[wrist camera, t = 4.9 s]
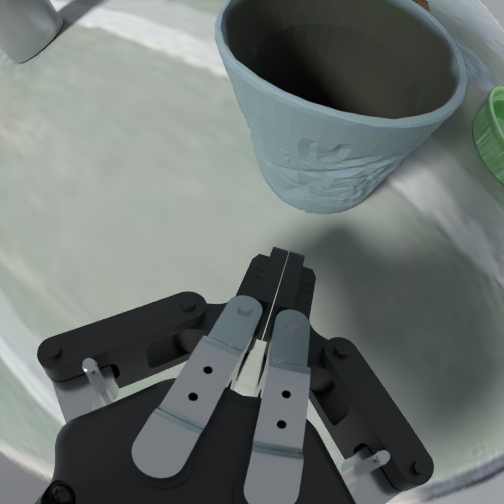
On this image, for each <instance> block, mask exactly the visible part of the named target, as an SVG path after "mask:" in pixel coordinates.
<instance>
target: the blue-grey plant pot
mask: <svg viewBox="0 0 504 504" xmlns="http://www.w3.org/2000/svg"><path fill="white" fill-rule="evenodd" d="M215 40H216V44H217V47H218V50H219V53H220V55H221V58H222V60H223V63H224V66H225V68H226V71H227V73H228V76H229V78H230V80H231V82H232V85H233V89H234V92H235V95H236V98H237V101H238V104H239V106H240V108H241V111H242V112H243V114H244V116H245V118H246V122H247V124H248V126H249V128H250V130H251V140H252V143H253V149H254V152H255V155H256V158H257V161H258V164H259V167H260V170H261V173H262V175H263V177H264V179H265V181H266V183H267V184H268V185H269V186H270V188H271V189H272V190H273V191H274V193H275V194H276V195H277V196H278V197H279V198H280V199H281V200H282V201H284V202H286V203H288V204H290V205H292V206H293V207H295V208H297V209H301V210H304V211H305V212H306V213H318V214H331V213H338V212H342V211H345V210H348V209H350V208H353V207H355V206H356V205H358V204H360V203H361V202H362V201H363V200H364V199H365V198H367V197H368V196H369V195H370V194H371V193H372V192H373V191H374V190H375V189H376V188H377V187H378V185H379V183H381V182H382V181H383V180H384V179H385V178H386V177H388V176H389V174H390V173H391V172H392V171H394V170H395V169H396V168H397V167H398V166H399V165H400V164H401V163H402V162H403V161H404V159H405V158H406V156H407V155H408V154H410V153H412V152H413V151H415V150H416V149H417V148H418V147H419V146H420V145H421V144H422V143H423V142H424V141H425V140H426V139H427V138H428V137H429V135H430V134H432V133H433V132H434V131H435V130H436V129H437V128H438V127H439V126H440V125H441V124H442V123H443V122H444V121H445V120H446V119H448V118H449V117H450V116H451V115H452V114H453V113H454V111H455V110H456V109H457V108H458V107H459V106H460V105H461V104H462V102H463V100H464V98H465V96H466V92H467V86H468V74H467V68H466V65H465V61H464V58H463V55H462V53H461V51H460V50H459V48H458V46H457V44H456V42H455V41H454V39H453V38H452V36H451V35H450V34H449V32H448V31H447V30H446V29H445V27H444V26H443V25H442V24H441V23H440V22H439V21H438V20H437V19H435V18H434V17H433V16H432V15H431V14H430V13H429V12H428V11H427V10H425V9H424V8H423V7H421V6H420V5H418V4H417V3H416V2H414V1H412V0H227V1H226V3H225V4H224V5H223V6H222V8H221V9H220V11H219V12H218V16H217V20H216V24H215Z"/></svg>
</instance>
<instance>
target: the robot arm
mask: <svg viewBox="0 0 504 504" xmlns="http://www.w3.org/2000/svg"><path fill="white" fill-rule="evenodd" d="M62 25H63V20H62V19H61V17H60V16H59V14H58V13H57V11H56V10H55V8H54V7H53V5H52V4H51V2H50V1H49V0H0V48H1V49H2V50H3V51H4V52H5V53H6V54H7V55H8V56H9V57H10V58H11V59H12V60H13V61H14V62H15V63H17V64H19V63H23V62H25V61H27V60H29V59H30V58H32V57H33V56H35V55H36V54H37V53H38V52H40V51H41V50H42V49H43V48H44V47H45V46H47V45H48V44H49V43H50V42H51V41H52V39H53V38H54V37H55V36H56V35H57V34H58V32H59V31H60V29H61V28H62ZM287 255H288V251H286V250H283V249H280V248H276V247H273V250H272V252H271V255H270V257H268V256H265V255H262V254H259V255H257V256H256V257H255V258H253V259H252V261H251V263H250V265H249V268H248V270H247V272H246V274H245V276H244V279H243V281H242V283H241V285H240V288H239V290H238V292H237V294H236V296H235V297H233V298H232V299H230V300H229V302H227V303H224V304H207V303H206V301H205V299H204V298H203V297H202V296H201V295H199V294H197V293H195V292H189V291H188V292H181V293H178V294H175V295H172V296H169V297H167V298H164V299H161V300H158V301H155V302H152V303H149V304H147V305H144V306H141V307H138V308H135V309H132V310H129V311H126V312H123V313H121V314H118V315H115V316H112V317H109V318H106V319H103V320H100V321H97V322H94V323H91V324H88V325H85V326H82V327H79V328H77V329H74V330H71V331H68V332H65V333H62V334H59V335H56V336H53V337H50V338H47V339H46V340H44V341H43V342H42V343H41V345H40V346H39V348H38V352H37V357H38V360H39V362H40V364H41V365H42V367H43V368H44V370H45V372H46V374H47V376H48V377H49V378H50V380H51V381H52V383H53V385H54V389H55V392H56V395H57V398H58V401H59V404H60V407H61V410H62V413H63V416H64V418H65V421H66V424H65V425H64V426H63V427H62V429H61V430H60V432H59V434H58V436H57V439H56V443H55V469H54V474H53V478H52V481H51V483H50V485H49V486H48V488H47V489H46V490H45V492H44V493H43V494H42V496H41V497H40V498H39V499H38V500H37V502H36V503H35V504H385V503H387V502H388V501H389V500H391V499H392V498H393V497H395V496H396V495H397V494H399V493H401V492H404V491H407V490H409V489H412V488H415V487H417V486H420V485H422V484H424V483H426V482H427V481H428V480H429V479H430V478H431V476H432V474H433V470H434V464H433V460H432V458H431V456H430V455H429V453H428V452H427V450H426V449H425V447H424V446H423V444H422V443H421V441H420V440H419V438H418V437H417V435H416V434H415V432H414V431H413V429H412V428H411V426H410V425H409V423H408V422H407V420H406V419H405V417H404V416H403V414H402V413H401V411H400V410H399V408H398V407H397V406H396V404H395V403H394V401H393V400H392V398H391V397H390V395H389V394H388V392H387V391H386V390H385V388H384V387H383V385H382V384H381V382H380V381H379V379H378V378H377V377H376V375H375V374H374V372H373V371H372V369H371V368H370V367H369V365H368V364H367V362H366V361H365V359H364V358H363V357H362V355H361V354H360V352H359V351H358V350H357V348H356V347H355V345H354V344H353V343H352V342H350V341H349V340H347V339H345V338H341V337H334V338H331V339H330V340H327V339H326V338H324V337H322V336H320V335H319V334H318V333H316V332H315V331H314V330H313V328H312V327H311V325H310V321H309V316H310V311H311V305H312V299H313V293H314V286H315V280H316V277H315V274H314V272H313V270H312V269H309V268H306V267H303V262H304V258H305V256H303V255H300V254H297V253H293V252H290V253H289V256H288V260H287V263H286V266H285V270H284V273H283V276H282V280H281V283H280V286H279V289H278V293H277V296H276V299H275V303H274V306H273V309H272V312H271V316H270V319H269V322H268V325H267V328H266V332H265V335H264V338H263V341H266V342H267V344H266V347H265V351H264V353H263V356H262V361H261V365H260V370H259V375H258V379H257V384H256V388H255V393H254V396H253V397H250V396H242V395H240V394H238V393H237V392H235V391H234V388H235V386H236V384H237V381H238V379H239V377H240V375H241V373H242V371H243V368H244V366H245V364H246V362H247V360H248V358H249V355H250V353H251V350H252V349H253V348H254V345H255V342H256V339H259V340H261V339H262V336H263V333H264V330H265V327H266V323H267V320H268V317H269V314H270V311H271V308H272V304H273V301H274V298H275V295H276V291H277V288H278V285H279V282H280V278H281V275H282V272H283V268H284V265H285V262H286V258H287ZM187 360H188V361H187ZM185 361H187V363H186V364H185V366H184V367H183V369H182V371H181V372H180V374H179V376H178V377H177V378H173V379H168V380H164V381H161V382H158V383H156V384H154V385H152V386H150V387H147V388H145V389H143V390H141V391H139V392H136V393H134V394H132V395H130V396H127V397H125V398H123V399H120V400H118V401H116V402H113V401H114V400H115V399H116V398H117V396H118V393H119V388H122V387H124V386H127V385H129V384H132V383H135V382H137V381H140V380H142V379H145V378H147V377H149V376H152V375H154V374H157V373H159V372H162V371H164V370H166V369H169V368H171V367H173V366H176V365H178V364H180V363H183V362H185ZM308 397H309V399H310V401H311V403H312V404H313V406H314V408H315V409H316V411H317V413H318V415H319V416H320V418H321V420H322V421H323V423H324V425H325V427H326V428H327V430H328V432H329V433H330V435H331V437H332V439H333V440H334V442H335V444H336V445H337V447H338V449H339V450H340V452H341V454H342V455H343V457H344V459H345V461H344V462H343V464H342V467H341V474H342V476H341V474H340V473H339V471H338V469H337V467H336V465H335V463H334V461H333V460H332V458H331V456H330V454H329V452H328V450H327V448H326V446H325V444H324V443H323V441H322V439H321V437H320V435H319V433H318V431H317V430H316V428H315V427H314V426H313V425H312V424H311V422H310V421H308V420H307V419H306V415H307V406H308ZM112 402H113V403H112ZM110 403H111V404H110ZM108 404H109V405H108ZM342 477H343V478H342Z"/></svg>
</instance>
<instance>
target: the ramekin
mask: <svg viewBox="0 0 504 504" xmlns="http://www.w3.org/2000/svg"><path fill="white" fill-rule="evenodd" d="M472 131H473V138H474V142H475V145H476V148H477V151H478V153H479V155H480V157H481V159H482V160H483V162H484V164H485V165H486V167H487V168H488V170H489V171H490V172H491V173H492V175H493V176H494V177H495V178H496V179H497V180H498V181H500V182H501V183H502V184H504V86H496V87H494V88H493V89H492V90H491V91H490V93H489V95H488V98H487V100H486V102H485V103H484V105H483V106H482V107H481V109H480V110H479V112H478V113H477V115H476V116H475V118H474V121H473V125H472Z"/></svg>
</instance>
